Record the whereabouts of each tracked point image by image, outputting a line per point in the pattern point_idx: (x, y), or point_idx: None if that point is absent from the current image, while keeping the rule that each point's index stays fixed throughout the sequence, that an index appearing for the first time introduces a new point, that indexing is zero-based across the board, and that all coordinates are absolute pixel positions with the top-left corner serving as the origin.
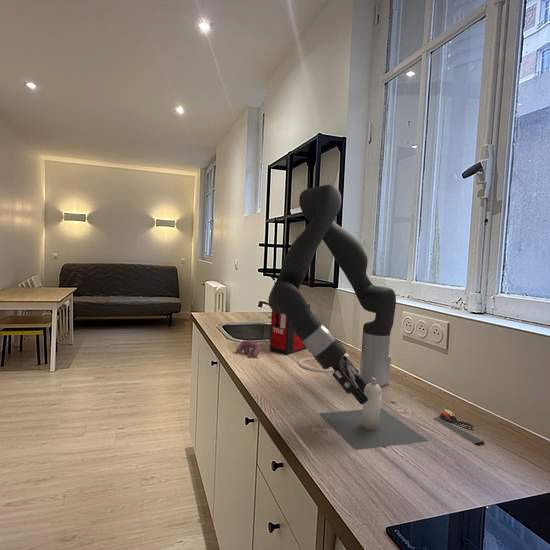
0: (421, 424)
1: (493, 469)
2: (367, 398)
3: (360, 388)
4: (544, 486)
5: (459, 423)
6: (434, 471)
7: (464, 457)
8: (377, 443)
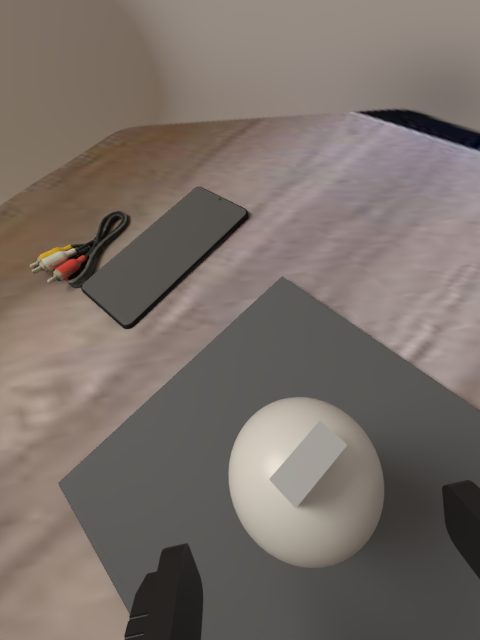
0: (148, 321)
1: (324, 166)
2: (464, 484)
3: (197, 634)
4: (329, 114)
5: (108, 236)
6: (447, 244)
7: (307, 209)
8: (441, 412)
